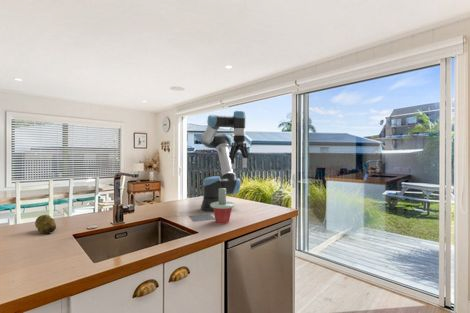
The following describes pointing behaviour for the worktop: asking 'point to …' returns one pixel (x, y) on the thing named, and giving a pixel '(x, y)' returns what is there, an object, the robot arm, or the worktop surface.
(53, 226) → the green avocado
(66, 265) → the worktop surface
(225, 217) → the flower pot
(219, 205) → the lid
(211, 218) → the mat
